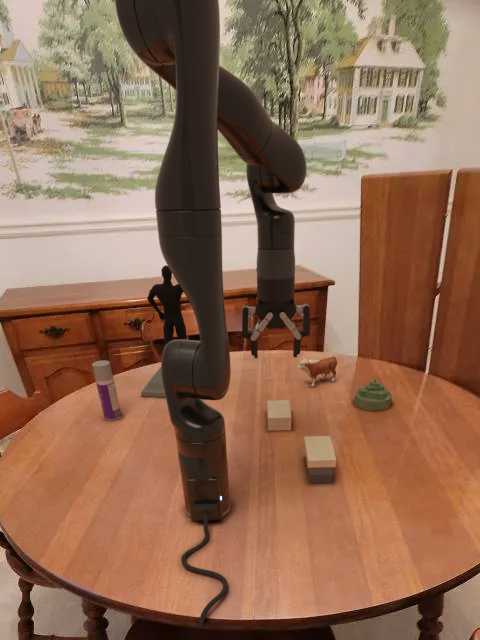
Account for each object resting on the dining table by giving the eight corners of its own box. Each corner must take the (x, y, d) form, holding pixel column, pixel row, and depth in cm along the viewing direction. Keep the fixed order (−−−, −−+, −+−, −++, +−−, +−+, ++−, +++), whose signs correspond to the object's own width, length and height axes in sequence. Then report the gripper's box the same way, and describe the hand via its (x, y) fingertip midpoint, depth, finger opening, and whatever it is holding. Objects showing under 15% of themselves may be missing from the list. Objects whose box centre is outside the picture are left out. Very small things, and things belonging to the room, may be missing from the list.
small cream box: (291, 430, 127) (291, 417, 125) (268, 430, 127) (267, 417, 125) (288, 412, 136) (289, 399, 134) (267, 412, 136) (267, 400, 134)
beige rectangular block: (335, 467, 104) (336, 459, 103) (307, 467, 104) (308, 460, 103) (329, 442, 113) (330, 435, 112) (303, 443, 113) (304, 436, 112)
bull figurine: (295, 384, 151) (295, 358, 146) (332, 377, 155) (334, 350, 150) (302, 389, 148) (302, 362, 143) (339, 381, 152) (342, 355, 147)
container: (100, 419, 135) (87, 364, 126) (112, 412, 139) (100, 359, 129) (114, 422, 134) (101, 367, 124) (125, 415, 137) (114, 361, 127)
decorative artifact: (368, 413, 134) (397, 406, 137) (371, 388, 129) (401, 381, 133) (347, 400, 141) (376, 393, 144) (350, 376, 136) (379, 370, 140)
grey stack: (332, 483, 107) (333, 467, 104) (309, 483, 107) (310, 467, 104) (326, 458, 115) (327, 442, 113) (305, 458, 116) (305, 443, 113)
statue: (221, 375, 159) (212, 249, 137) (207, 399, 144) (195, 263, 122) (160, 373, 162) (142, 250, 139) (141, 396, 147) (117, 263, 125)
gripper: (239, 278, 93) (243, 363, 104) (314, 276, 93) (310, 361, 104) (239, 270, 99) (243, 352, 109) (309, 268, 99) (306, 350, 109)
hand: (275, 356), depth 106 cm, fingers open, 8 cm apart
